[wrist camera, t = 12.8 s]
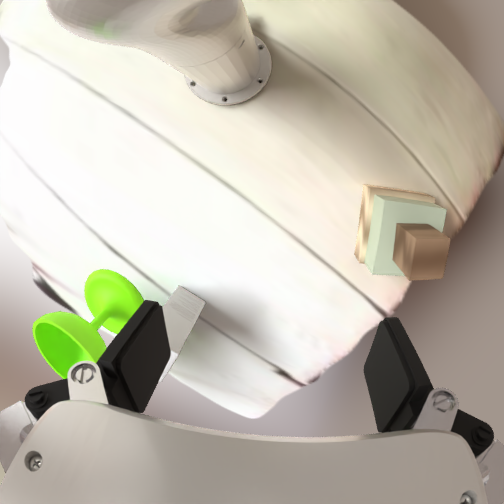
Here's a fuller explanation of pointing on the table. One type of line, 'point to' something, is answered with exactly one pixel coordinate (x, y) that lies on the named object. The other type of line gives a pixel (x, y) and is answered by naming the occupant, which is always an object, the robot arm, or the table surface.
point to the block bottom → (368, 208)
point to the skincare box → (180, 321)
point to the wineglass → (79, 330)
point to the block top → (384, 229)
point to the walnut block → (420, 251)
